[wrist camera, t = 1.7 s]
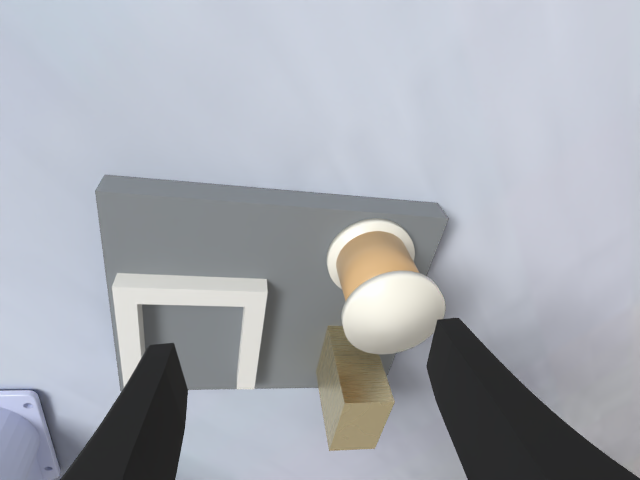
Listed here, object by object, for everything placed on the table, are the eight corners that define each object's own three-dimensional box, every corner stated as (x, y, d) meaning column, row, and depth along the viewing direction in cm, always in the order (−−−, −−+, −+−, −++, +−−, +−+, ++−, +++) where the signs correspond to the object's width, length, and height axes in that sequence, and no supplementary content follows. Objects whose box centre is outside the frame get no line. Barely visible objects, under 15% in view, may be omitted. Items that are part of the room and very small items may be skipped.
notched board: (377, 368, 30) (386, 399, 28) (126, 369, 26) (116, 405, 24) (437, 203, 22) (456, 229, 20) (104, 174, 19) (88, 202, 17)
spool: (398, 289, 24) (427, 354, 20) (319, 286, 23) (334, 354, 19) (422, 221, 21) (460, 280, 17) (335, 215, 20) (356, 276, 17)
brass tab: (355, 371, 27) (374, 448, 23) (315, 372, 26) (329, 450, 22) (369, 326, 25) (394, 401, 21) (327, 325, 24) (344, 403, 20)
